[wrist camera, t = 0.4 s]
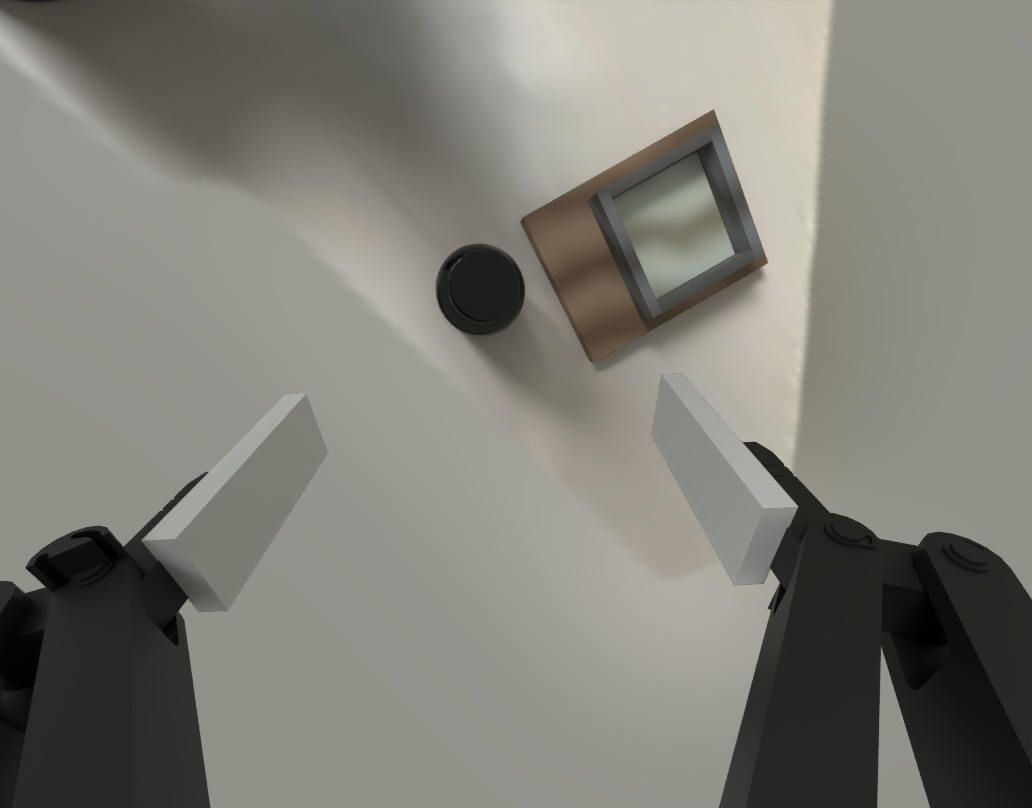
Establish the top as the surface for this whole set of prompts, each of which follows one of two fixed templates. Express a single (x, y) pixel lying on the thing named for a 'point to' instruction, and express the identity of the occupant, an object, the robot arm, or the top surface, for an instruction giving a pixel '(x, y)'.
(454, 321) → the supplement bottle
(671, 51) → the top surface
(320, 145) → the top surface
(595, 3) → the top surface
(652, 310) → the base board
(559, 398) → the top surface
